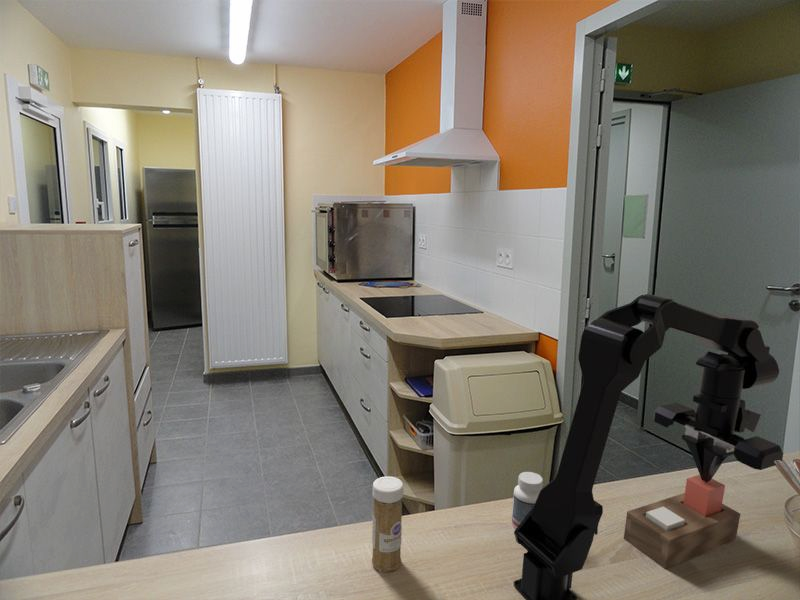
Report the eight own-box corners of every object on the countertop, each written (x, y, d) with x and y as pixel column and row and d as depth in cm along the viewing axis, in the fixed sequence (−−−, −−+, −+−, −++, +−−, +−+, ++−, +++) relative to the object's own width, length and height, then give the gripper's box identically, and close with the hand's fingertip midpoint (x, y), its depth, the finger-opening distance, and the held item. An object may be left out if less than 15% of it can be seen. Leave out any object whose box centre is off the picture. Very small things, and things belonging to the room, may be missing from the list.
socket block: (665, 569, 84) (669, 540, 83) (623, 538, 91) (627, 511, 90) (735, 540, 91) (740, 513, 90) (692, 514, 98) (696, 489, 97)
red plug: (704, 518, 89) (709, 490, 88) (682, 505, 93) (686, 478, 92) (720, 512, 91) (725, 485, 90) (698, 500, 95) (702, 473, 93)
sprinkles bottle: (391, 577, 80) (393, 494, 78) (365, 566, 83) (366, 485, 80) (406, 559, 84) (409, 480, 81) (381, 549, 86) (383, 471, 84)
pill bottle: (543, 536, 91) (547, 488, 89) (511, 532, 92) (514, 484, 90) (541, 518, 96) (545, 471, 94) (511, 513, 97) (514, 468, 95)
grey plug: (663, 554, 86) (667, 526, 85) (642, 539, 90) (646, 512, 89) (680, 547, 88) (684, 519, 87) (659, 533, 91) (663, 506, 90)
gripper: (813, 406, 83) (794, 499, 86) (700, 368, 99) (688, 447, 102) (768, 418, 78) (750, 515, 81) (657, 375, 94) (646, 458, 98)
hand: (705, 480), depth 91 cm, fingers closed
